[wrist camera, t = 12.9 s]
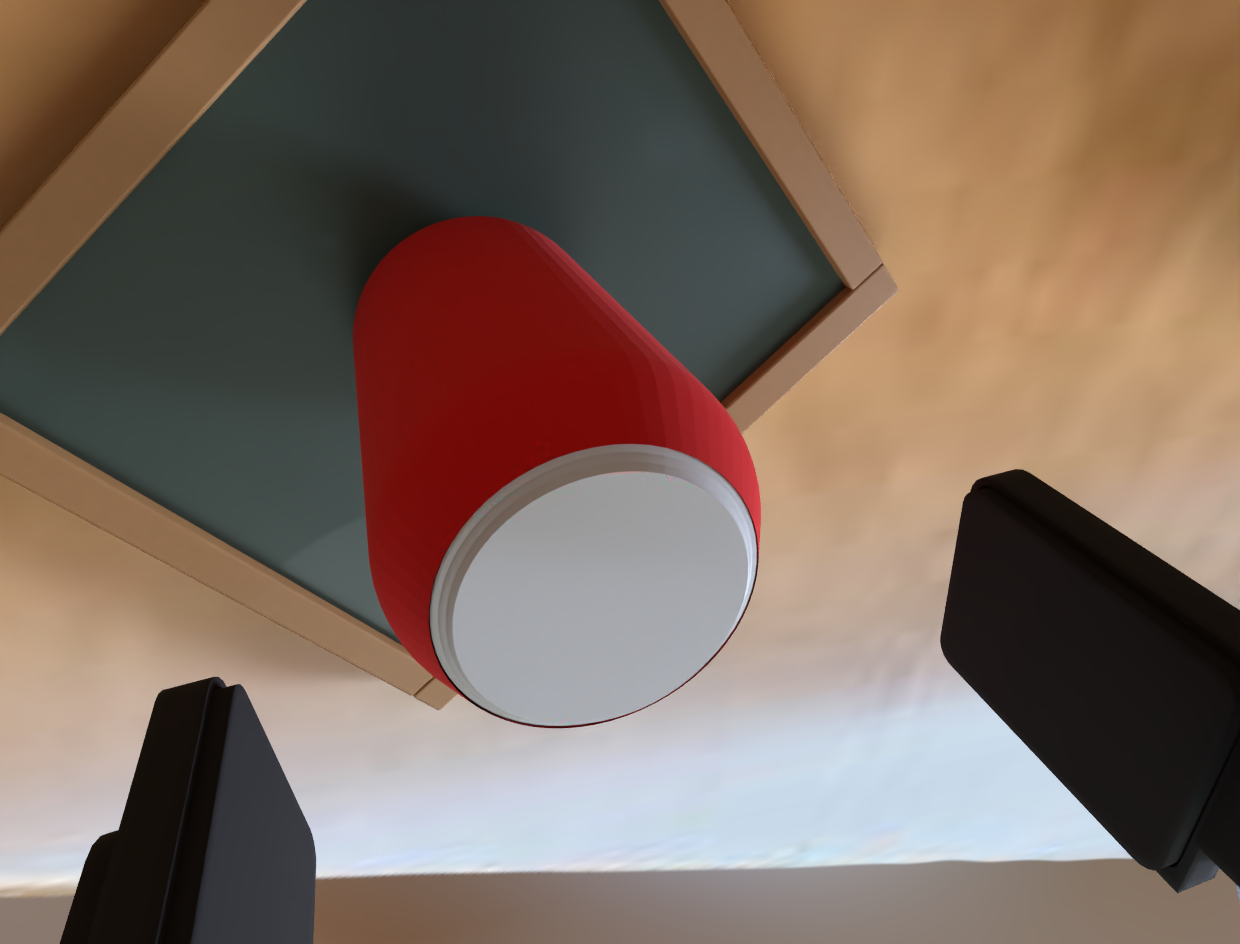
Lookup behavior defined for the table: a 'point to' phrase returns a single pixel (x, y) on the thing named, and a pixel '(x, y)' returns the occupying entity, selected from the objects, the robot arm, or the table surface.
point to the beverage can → (543, 481)
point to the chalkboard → (363, 235)
